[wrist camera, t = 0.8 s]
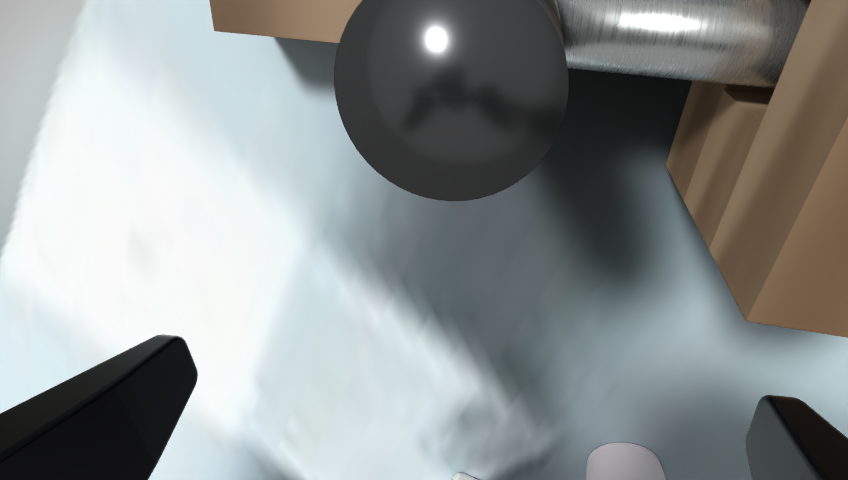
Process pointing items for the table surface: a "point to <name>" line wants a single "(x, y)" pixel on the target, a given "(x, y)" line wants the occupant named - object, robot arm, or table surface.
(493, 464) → the table surface
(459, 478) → the medicine bottle
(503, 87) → the door handle
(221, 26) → the wooden mallet
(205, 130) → the table surface
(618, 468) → the smoothie
